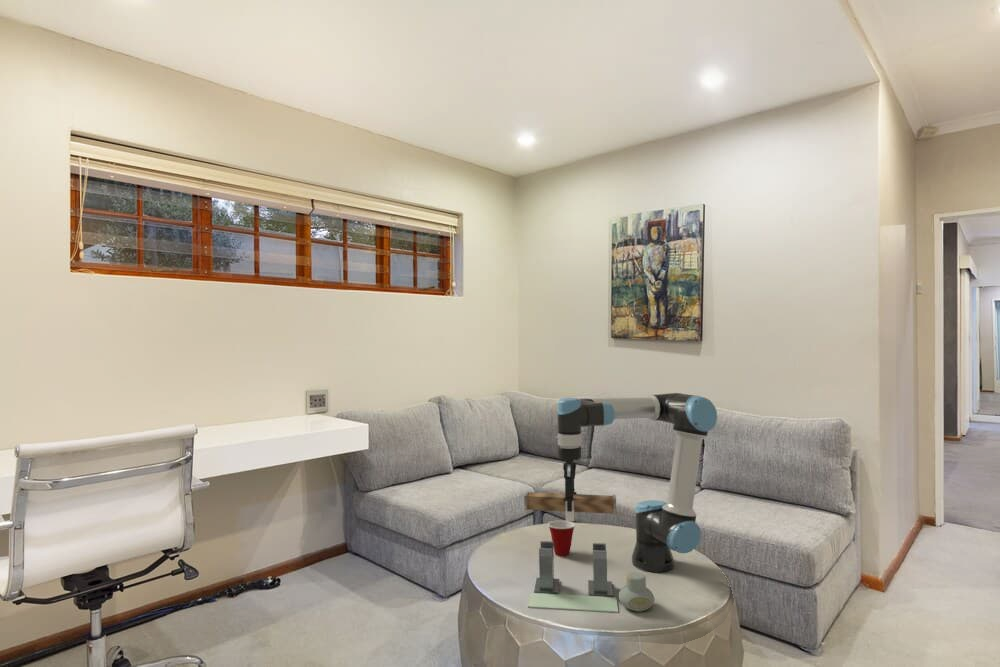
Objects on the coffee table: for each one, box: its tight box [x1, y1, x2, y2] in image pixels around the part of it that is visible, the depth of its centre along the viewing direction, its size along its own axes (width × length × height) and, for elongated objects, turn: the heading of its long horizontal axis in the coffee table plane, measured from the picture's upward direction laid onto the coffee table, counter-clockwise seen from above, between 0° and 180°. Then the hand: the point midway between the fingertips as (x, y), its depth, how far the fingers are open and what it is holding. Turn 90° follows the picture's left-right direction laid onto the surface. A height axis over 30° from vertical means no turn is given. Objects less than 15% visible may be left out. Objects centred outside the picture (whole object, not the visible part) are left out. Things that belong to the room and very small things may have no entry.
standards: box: [533, 540, 614, 597], centre depth 186 cm, size 26×10×14 cm, turn 81°
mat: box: [527, 592, 619, 614], centre depth 176 cm, size 28×9×1 cm, turn 81°
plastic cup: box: [547, 520, 576, 557], centre depth 215 cm, size 11×11×12 cm
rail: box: [523, 491, 617, 515], centre depth 177 cm, size 29×5×5 cm, turn 80°
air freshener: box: [618, 571, 655, 613], centre depth 173 cm, size 11×8×10 cm
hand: (570, 517), depth 177 cm, fingers closed on rail, 4 cm apart
